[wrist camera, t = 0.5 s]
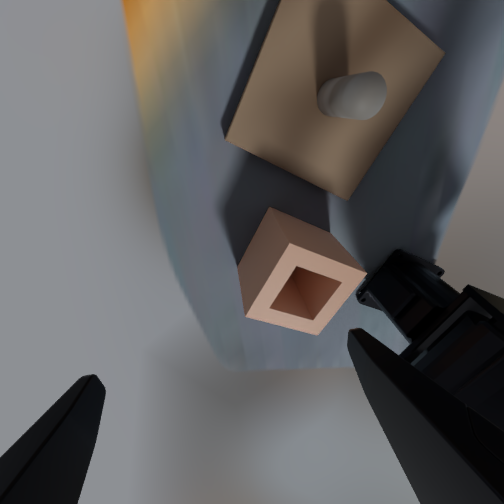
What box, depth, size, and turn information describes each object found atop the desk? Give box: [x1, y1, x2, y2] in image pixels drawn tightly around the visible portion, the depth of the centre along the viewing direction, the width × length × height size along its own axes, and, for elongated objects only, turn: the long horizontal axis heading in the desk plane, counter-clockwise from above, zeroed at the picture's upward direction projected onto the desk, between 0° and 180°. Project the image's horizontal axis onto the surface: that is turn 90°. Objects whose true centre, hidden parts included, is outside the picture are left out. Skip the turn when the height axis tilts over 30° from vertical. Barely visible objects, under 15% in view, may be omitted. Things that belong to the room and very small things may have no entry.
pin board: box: [225, 0, 445, 201], centre depth 14 cm, size 10×10×5 cm
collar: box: [237, 207, 367, 335], centre depth 19 cm, size 6×6×6 cm
